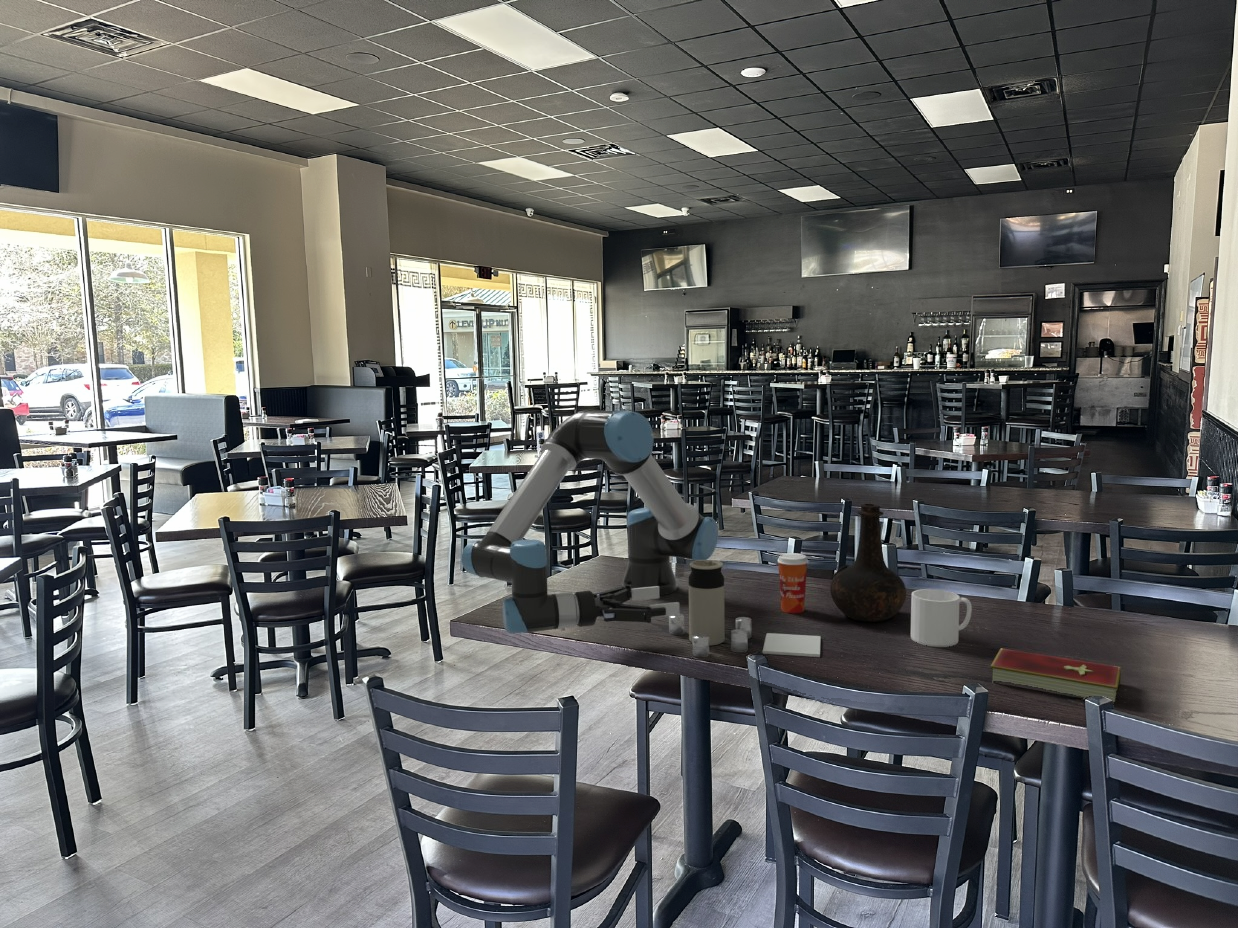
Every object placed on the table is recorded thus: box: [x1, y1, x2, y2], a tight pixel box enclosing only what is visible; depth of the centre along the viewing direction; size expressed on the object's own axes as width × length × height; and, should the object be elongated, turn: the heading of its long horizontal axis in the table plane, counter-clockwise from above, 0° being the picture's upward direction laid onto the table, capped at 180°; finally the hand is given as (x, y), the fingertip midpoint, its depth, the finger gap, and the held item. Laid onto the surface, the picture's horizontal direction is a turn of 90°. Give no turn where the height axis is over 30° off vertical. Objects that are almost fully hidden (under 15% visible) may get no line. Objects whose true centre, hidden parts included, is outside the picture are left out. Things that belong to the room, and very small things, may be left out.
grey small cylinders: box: [668, 613, 752, 658], centre depth 186 cm, size 22×19×4 cm
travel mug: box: [688, 559, 726, 647], centre depth 185 cm, size 8×8×18 cm
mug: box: [910, 588, 973, 648], centre depth 183 cm, size 13×10×10 cm
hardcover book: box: [990, 647, 1122, 703], centre depth 158 cm, size 12×21×4 cm, turn 56°
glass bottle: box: [829, 503, 907, 623], centre depth 200 cm, size 18×18×28 cm
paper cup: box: [777, 552, 810, 614], centre depth 207 cm, size 8×8×14 cm
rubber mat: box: [762, 632, 821, 658], centre depth 182 cm, size 12×12×1 cm
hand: (668, 599), depth 183 cm, fingers open, 13 cm apart
